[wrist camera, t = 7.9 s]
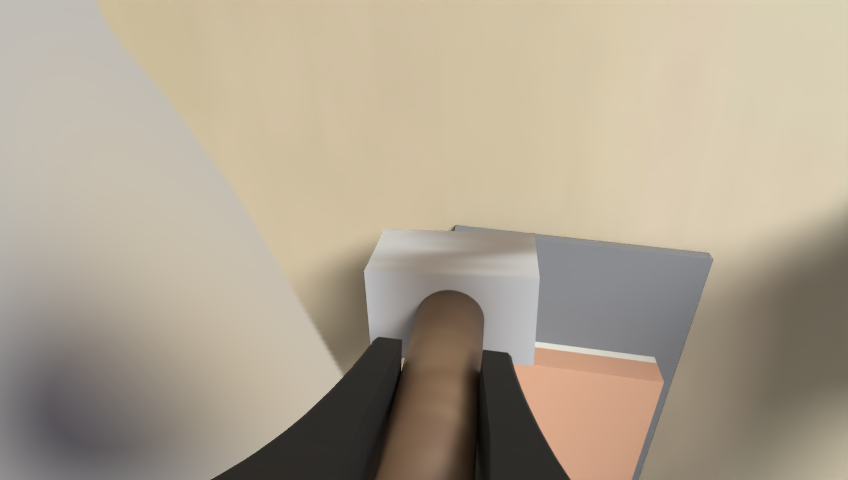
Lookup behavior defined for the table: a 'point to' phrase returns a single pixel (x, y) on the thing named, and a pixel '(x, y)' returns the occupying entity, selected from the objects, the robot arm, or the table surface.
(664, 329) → the mat
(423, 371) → the trowel
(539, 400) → the tile
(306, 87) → the table surface
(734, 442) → the table surface
